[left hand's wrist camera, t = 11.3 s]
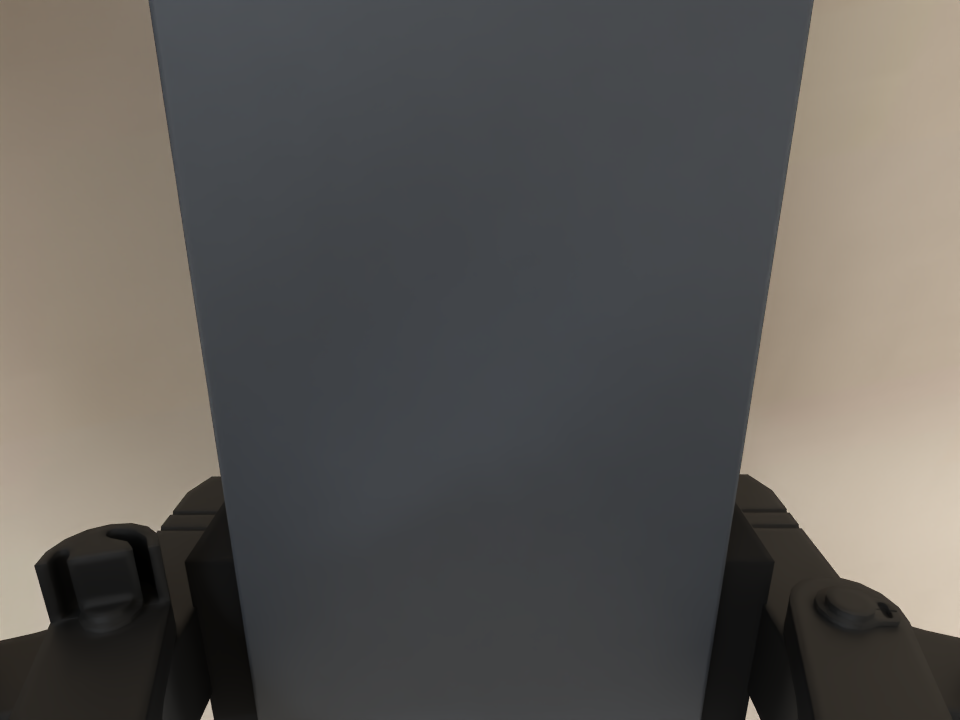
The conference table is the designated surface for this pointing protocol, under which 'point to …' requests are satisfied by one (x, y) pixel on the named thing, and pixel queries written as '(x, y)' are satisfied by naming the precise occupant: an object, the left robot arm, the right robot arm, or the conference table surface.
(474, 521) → the beam
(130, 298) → the conference table surface
